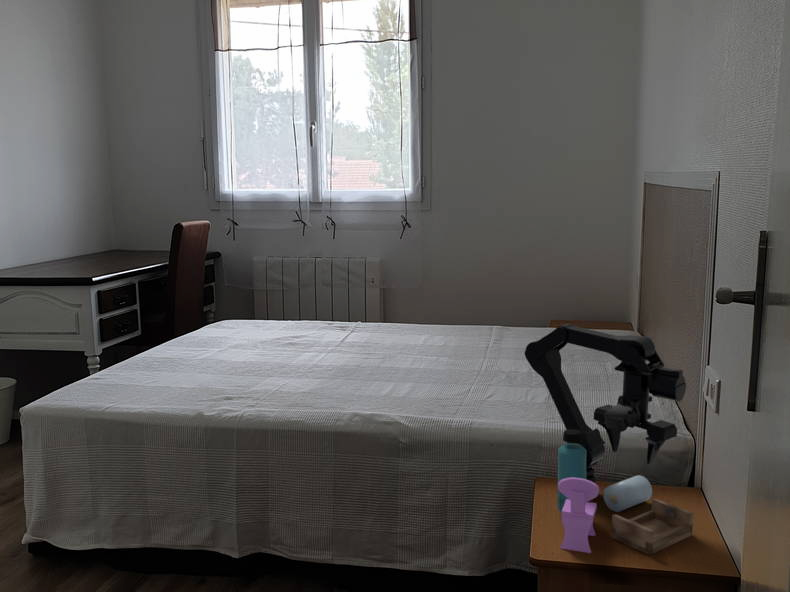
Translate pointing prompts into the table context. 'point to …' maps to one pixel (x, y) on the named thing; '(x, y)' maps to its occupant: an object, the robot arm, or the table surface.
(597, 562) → the table surface
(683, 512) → the holder
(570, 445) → the beverage bottle
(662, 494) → the table surface
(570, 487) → the toy chair
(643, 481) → the roll
